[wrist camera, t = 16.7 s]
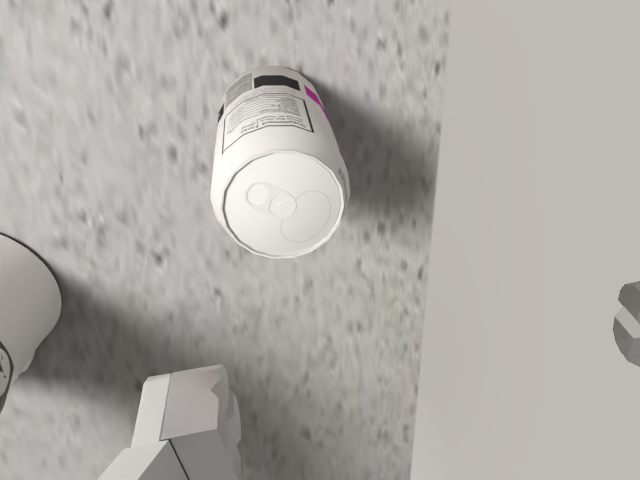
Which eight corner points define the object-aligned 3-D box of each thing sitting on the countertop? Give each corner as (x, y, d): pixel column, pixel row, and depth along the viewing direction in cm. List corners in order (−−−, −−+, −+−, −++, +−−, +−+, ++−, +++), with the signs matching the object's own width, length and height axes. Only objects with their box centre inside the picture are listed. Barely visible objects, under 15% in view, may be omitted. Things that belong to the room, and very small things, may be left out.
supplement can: (341, 95, 43) (382, 181, 31) (289, 178, 47) (306, 285, 34) (250, 42, 40) (254, 112, 28) (200, 134, 44) (184, 234, 31)
